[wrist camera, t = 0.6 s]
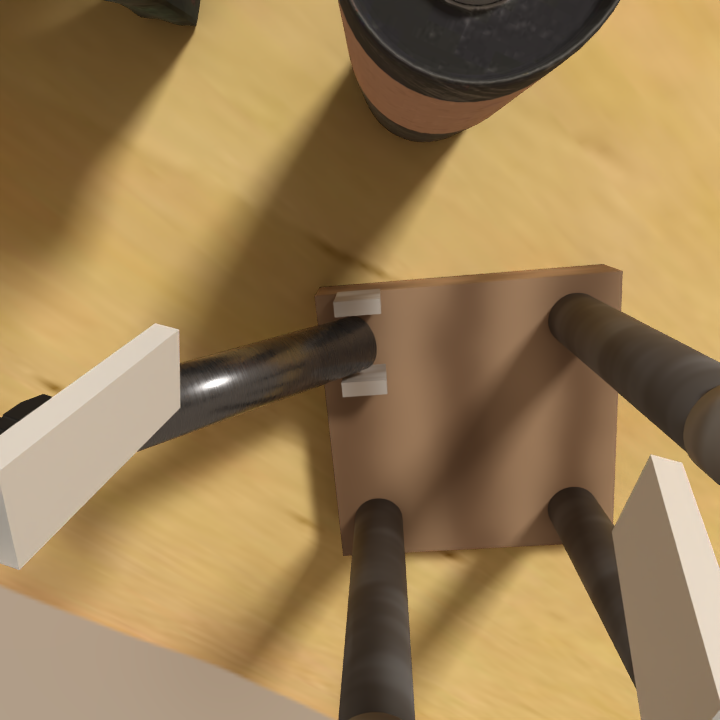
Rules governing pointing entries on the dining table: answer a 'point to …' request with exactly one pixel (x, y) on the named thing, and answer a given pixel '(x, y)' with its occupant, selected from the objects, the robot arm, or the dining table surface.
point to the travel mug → (458, 55)
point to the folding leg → (266, 373)
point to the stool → (492, 440)
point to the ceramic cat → (165, 10)
